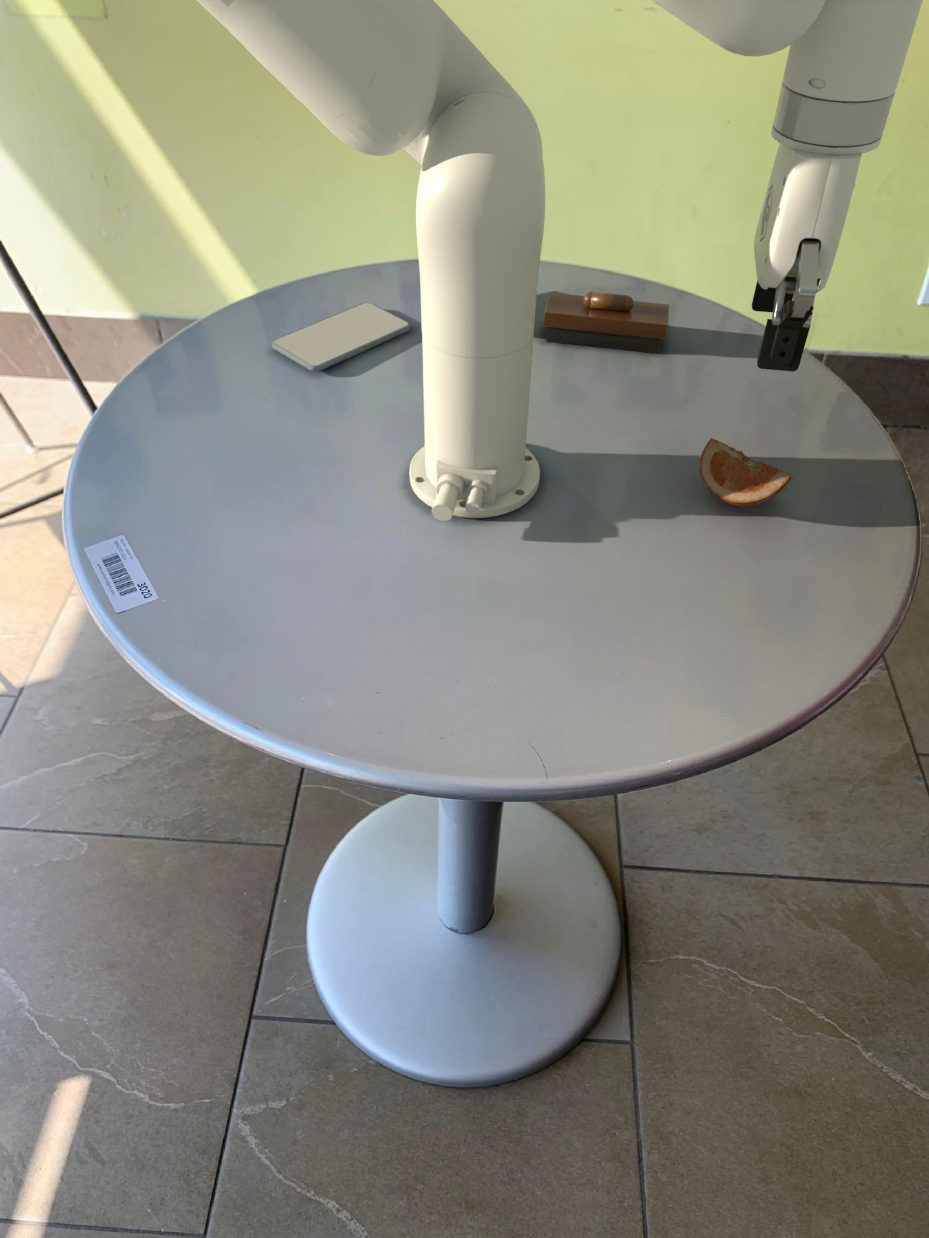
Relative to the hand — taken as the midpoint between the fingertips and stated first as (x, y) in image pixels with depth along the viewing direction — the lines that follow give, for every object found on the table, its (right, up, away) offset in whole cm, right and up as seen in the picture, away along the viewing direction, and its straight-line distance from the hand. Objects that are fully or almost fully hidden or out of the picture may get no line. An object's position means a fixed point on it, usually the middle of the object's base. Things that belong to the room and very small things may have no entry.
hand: (772, 338), depth 76 cm
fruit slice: (0, -12, +10) cm, 16 cm away
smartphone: (-40, +9, +30) cm, 51 cm away
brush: (-9, +10, +31) cm, 34 cm away
